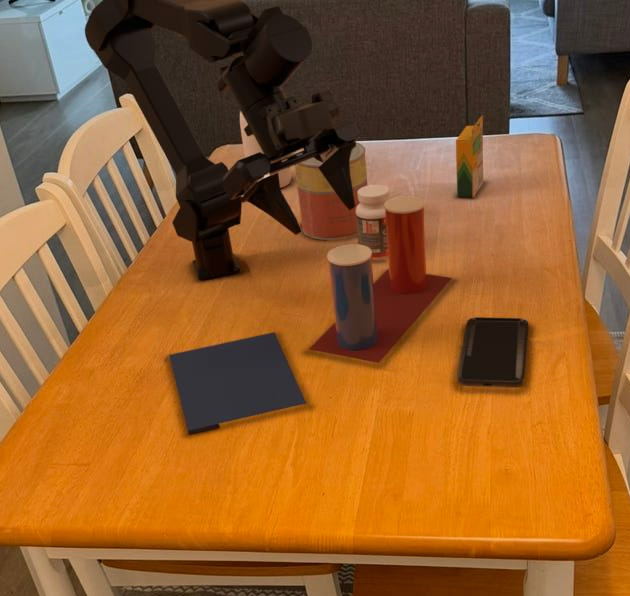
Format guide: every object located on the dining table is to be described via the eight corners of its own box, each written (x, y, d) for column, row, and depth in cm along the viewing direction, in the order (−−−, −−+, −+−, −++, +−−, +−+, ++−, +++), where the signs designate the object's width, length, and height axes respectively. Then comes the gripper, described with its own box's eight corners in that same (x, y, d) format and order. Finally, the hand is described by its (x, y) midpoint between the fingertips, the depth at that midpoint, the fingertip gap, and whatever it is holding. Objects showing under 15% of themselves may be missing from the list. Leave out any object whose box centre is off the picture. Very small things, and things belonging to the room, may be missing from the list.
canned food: (376, 211, 148) (371, 139, 140) (364, 240, 139) (357, 165, 132) (310, 212, 150) (302, 140, 142) (295, 240, 141) (284, 165, 134)
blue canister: (332, 334, 115) (322, 249, 108) (371, 326, 116) (364, 240, 109) (343, 354, 111) (333, 267, 104) (383, 345, 112) (377, 258, 105)
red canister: (384, 281, 126) (378, 199, 119) (420, 273, 127) (416, 192, 120) (396, 297, 122) (391, 214, 115) (433, 289, 123) (430, 206, 116)
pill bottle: (392, 262, 132) (388, 198, 126) (355, 261, 133) (349, 198, 127) (399, 245, 136) (395, 182, 130) (363, 245, 138) (358, 182, 132)
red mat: (388, 271, 130) (388, 268, 129) (452, 281, 126) (452, 277, 125) (309, 352, 113) (308, 348, 113) (379, 366, 109) (378, 362, 109)
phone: (528, 318, 114) (523, 382, 102) (528, 326, 114) (523, 390, 103) (467, 317, 115) (455, 379, 103) (467, 324, 116) (455, 387, 104)
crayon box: (467, 181, 155) (466, 113, 148) (483, 182, 154) (484, 114, 147) (456, 197, 150) (455, 128, 143) (473, 198, 149) (473, 128, 142)
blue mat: (170, 358, 115) (169, 354, 114) (275, 336, 117) (274, 332, 117) (188, 434, 101) (187, 430, 101) (307, 407, 104) (306, 403, 103)
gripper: (229, 92, 96) (299, 221, 99) (352, 51, 106) (413, 170, 108) (193, 138, 106) (258, 256, 108) (308, 97, 116) (366, 206, 118)
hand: (326, 220), depth 110 cm, fingers open, 9 cm apart
